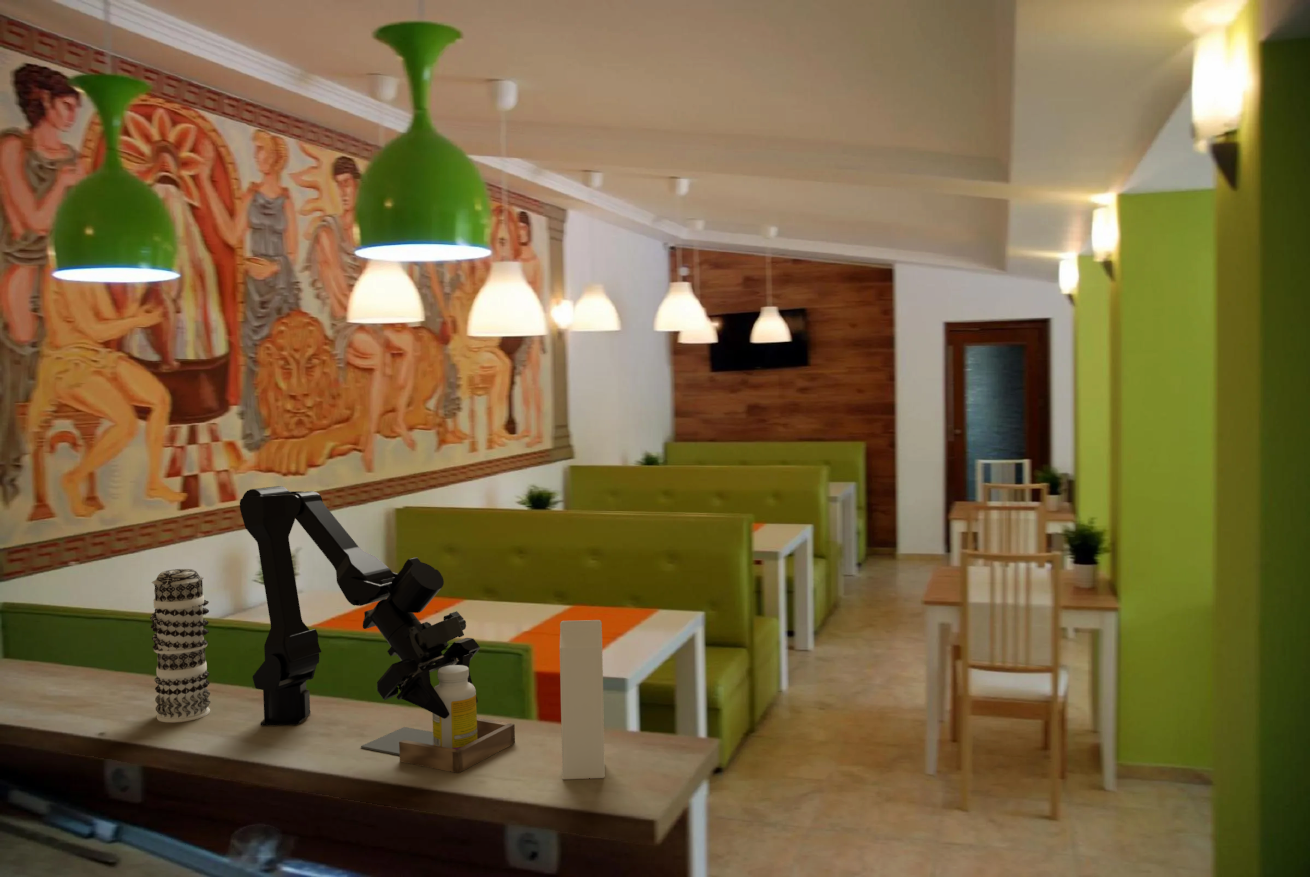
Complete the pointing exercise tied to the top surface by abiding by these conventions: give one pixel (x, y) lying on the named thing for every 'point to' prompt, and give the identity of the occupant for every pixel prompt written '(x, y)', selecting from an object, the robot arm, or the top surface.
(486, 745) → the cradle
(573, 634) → the beige tall block
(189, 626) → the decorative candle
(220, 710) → the top surface
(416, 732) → the mat
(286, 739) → the top surface
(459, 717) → the supplement bottle
